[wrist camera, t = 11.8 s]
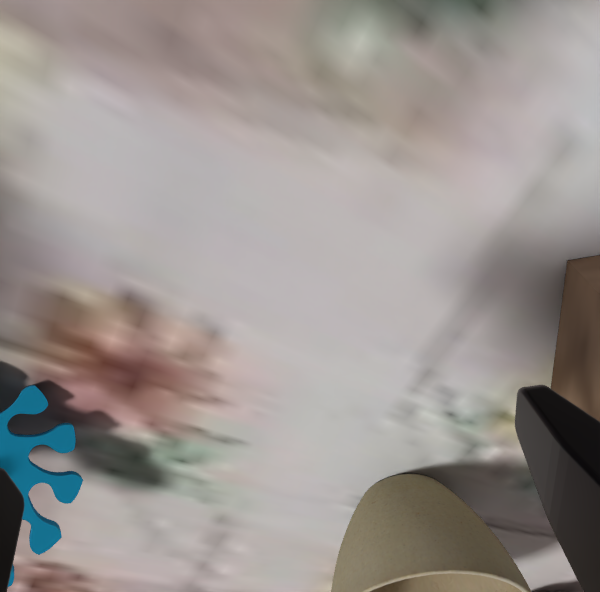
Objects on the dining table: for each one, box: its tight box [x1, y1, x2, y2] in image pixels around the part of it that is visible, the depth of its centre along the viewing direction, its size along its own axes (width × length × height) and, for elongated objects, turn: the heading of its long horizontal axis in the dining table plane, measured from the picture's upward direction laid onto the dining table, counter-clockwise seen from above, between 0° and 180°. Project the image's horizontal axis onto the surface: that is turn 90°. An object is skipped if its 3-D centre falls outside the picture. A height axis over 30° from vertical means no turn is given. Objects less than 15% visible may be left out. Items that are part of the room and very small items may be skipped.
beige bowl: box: [331, 474, 531, 592], centre depth 28 cm, size 10×10×7 cm
